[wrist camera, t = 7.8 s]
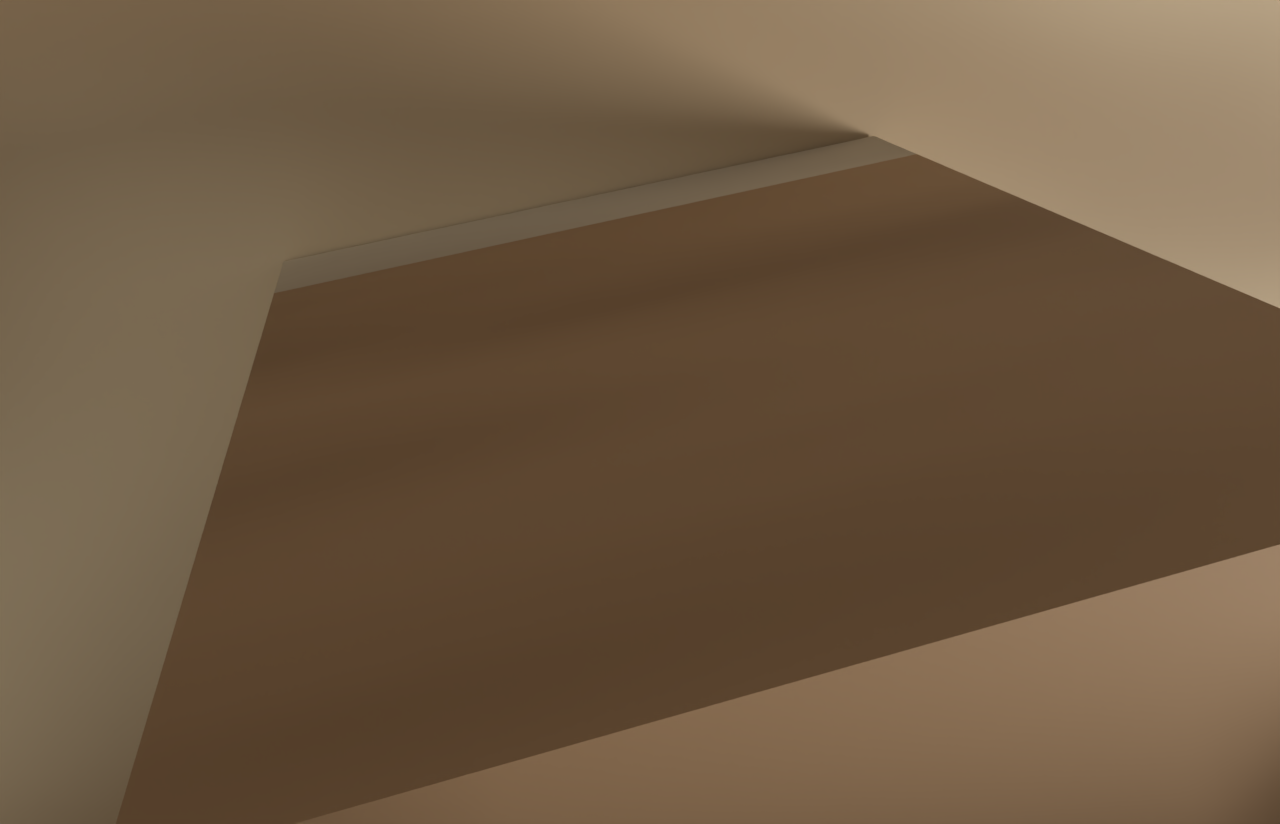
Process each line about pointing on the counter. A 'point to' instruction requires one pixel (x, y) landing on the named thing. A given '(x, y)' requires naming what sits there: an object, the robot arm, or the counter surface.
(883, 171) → the block
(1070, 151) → the board
